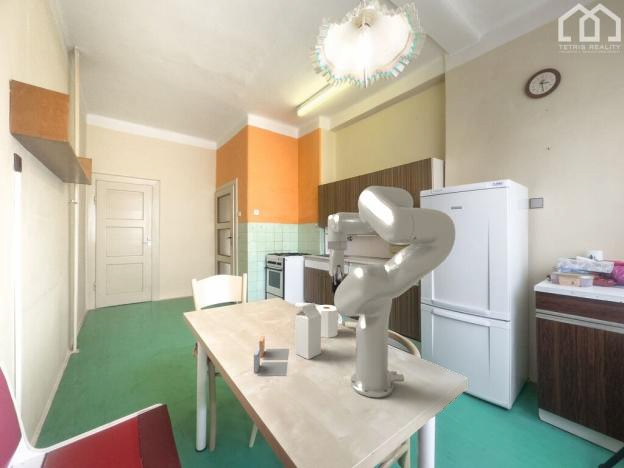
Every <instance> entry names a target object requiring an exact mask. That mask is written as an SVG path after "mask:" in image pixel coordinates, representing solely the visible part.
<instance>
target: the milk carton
mask: <svg viewBox="0 0 624 468" xmlns="http://www.w3.org/2000/svg"><path fill="white" fill-rule="evenodd" d="M315 305H316V303H315V302H313V303H312V302H311V303H310V304H309V303H308V304H305V305H302V306H301V309H300V310H299V311H298V312H296V314H295V318H294V319H295V321H294V326H295V327H294V333H295V335H294V354H295V355H297V356H300V357H301V358H304V359H306V360H311V359H312V358H314V357H317V356H318V355H321V354H322V347H321V346H322V337H321V314H320V312H319V311H318V310H317V308H316V307H317V306H315Z"/></svg>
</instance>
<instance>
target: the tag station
mask: <svg viewBox="0 0 624 468" xmlns="http://www.w3.org/2000/svg"><path fill="white" fill-rule="evenodd" d="M265 339H266V338H265V335H261V336H260V339H259V341H258V342H259V343H258V344H259V345H258V347H256V349H255V351H254V353H253V373H254V374H257V373H258V374H257V377H286V376H287V367H288V362H287V361H288V359H289V351H290V348H266V350H265V342H266V341H265ZM261 358H262V360H263V361H264V362H263V361H262V362H261ZM265 361H267V362H265ZM268 361H269V362H268ZM272 361H273V362H272ZM278 361H279V362H278Z"/></svg>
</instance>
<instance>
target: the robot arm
mask: <svg viewBox="0 0 624 468" xmlns="http://www.w3.org/2000/svg"><path fill="white" fill-rule="evenodd" d="M413 199H414V198H413V196H412V195H411V194H410V193H409V191H408V190H405V189H404V188H401V187H393V186H383V185H380V186H379V185H371V186H368V187H366V188H364V190H362V192H361V193H360V195H359V197H358V201H357V207H358V212H346V211H345V212H344V211H343V212H341V211H339V212H336V213H334V214H330V215H328V217H327V251H329V257H328V258H329V262H328V264H329V265H328V274H329V276H330V277H331V278H332V280H331V281H332V282H331V292H332V293H333V302H334V306H335V307H336V309H337V311H338V314H340V315H342V316H343V317H349V318H351V317H359V318H358V320H357V323H356V329H355V330H356V331H355V373H354V374H352V376H351V377H350V386H351V388H352V389H353V390H354V391H356V393H358V394H360V395H362V396H365V397H369V398H384V397H387V396H389V395H390V394H392V393H393V390H394V383H395V382H399V383H401V382H405V376H404V373H403V374H402V373H401V374H398V373H397V371H396V370H391V371H390V370H389V321H390V313H391V310H392V305H393V299H396V298H398V297H400V296H401V295H402V294H405V292H407V291H408V290H409V289H410V288H412V287H413V286H414V285H416V284H417V283H419V281H421V279H423V278H424V277H426V276H427V275H429V274H430V273H431V272H432V271H434V270H436V269H437V268H438V267H439V266H441V264H442V263H444V262H445V260H447V258H448V256H449V255H450V254H451V252H452V250H453V247H454V245H455V240H456V227H455V223H454V220H453V219H452V218H451V216H449V215H448V214H447V213H446V212H443V211H441V210H438V209H433V208H424V207H423V208H422V207H414V200H413ZM372 232H376V234H377V235H378V236H379V237H380V238H381V239H383V241H386V242H387V243H389V244H392V245H406V247H404V248H402V249H401V250H399V251H397V252H396V253H395V254H394V255H393V257H391V258H390V259H389V260H387V261H386V262H384V263H383V262H382V263H374V264H362V265H358V266H356V267H354V268H353V269H352V270H351V271H350V272H348V274H347V276H345V251H348V234H367V233H372ZM407 245H408V246H407ZM344 276H345V278H344V279H343V277H344Z"/></svg>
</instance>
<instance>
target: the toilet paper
mask: <svg viewBox="0 0 624 468" xmlns="http://www.w3.org/2000/svg"><path fill="white" fill-rule="evenodd" d="M315 307H316V308H317V310H318V311H319V312H320V314H321V338H327V339H329V338H336V336H338V334H339V333H338V332H339V331H338V330H339V328H338V327H339V326H338V325H339V324H338V322H339V321H338V320H339V315H338V314H339V312H338V311H337V309H336V307H335V305H331V304H322V305H321V304H320V305H317V306H315Z"/></svg>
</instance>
